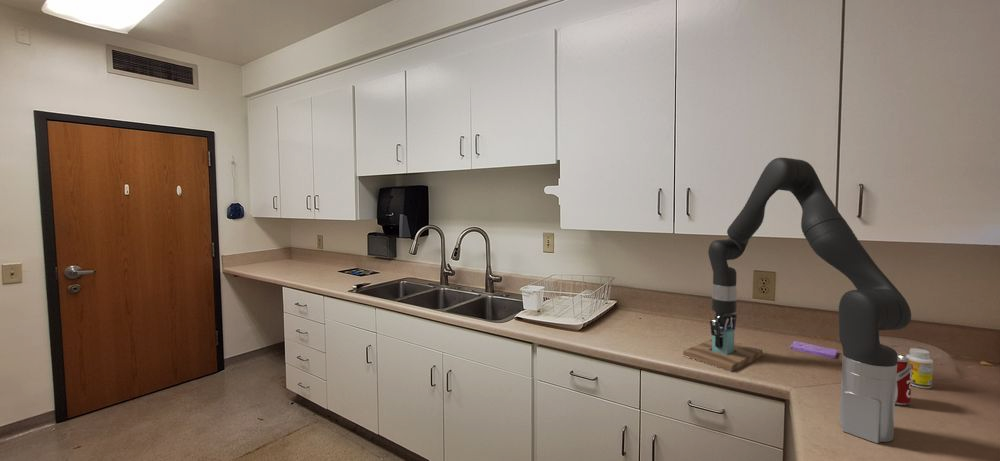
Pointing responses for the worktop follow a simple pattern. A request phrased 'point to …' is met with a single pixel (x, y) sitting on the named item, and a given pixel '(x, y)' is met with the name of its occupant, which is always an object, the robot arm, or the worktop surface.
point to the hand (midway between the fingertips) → (723, 345)
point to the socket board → (723, 355)
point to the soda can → (903, 381)
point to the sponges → (814, 349)
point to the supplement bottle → (921, 367)
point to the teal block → (725, 342)
